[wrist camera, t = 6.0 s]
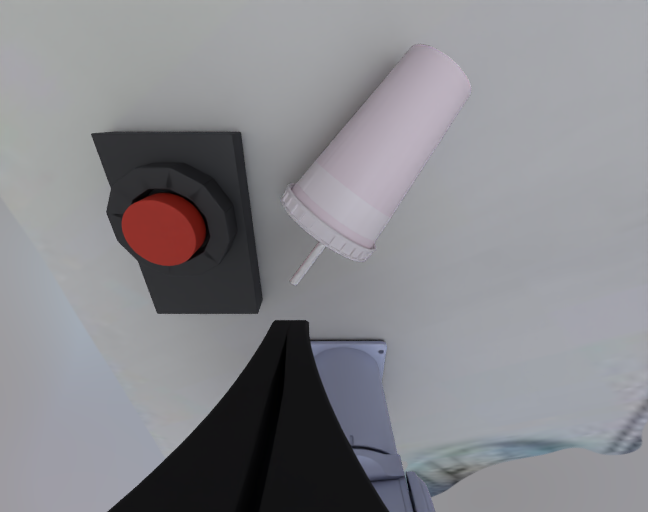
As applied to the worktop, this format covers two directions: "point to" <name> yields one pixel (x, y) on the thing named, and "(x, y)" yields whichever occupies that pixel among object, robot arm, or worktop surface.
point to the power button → (164, 228)
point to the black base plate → (210, 200)
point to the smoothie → (377, 156)
